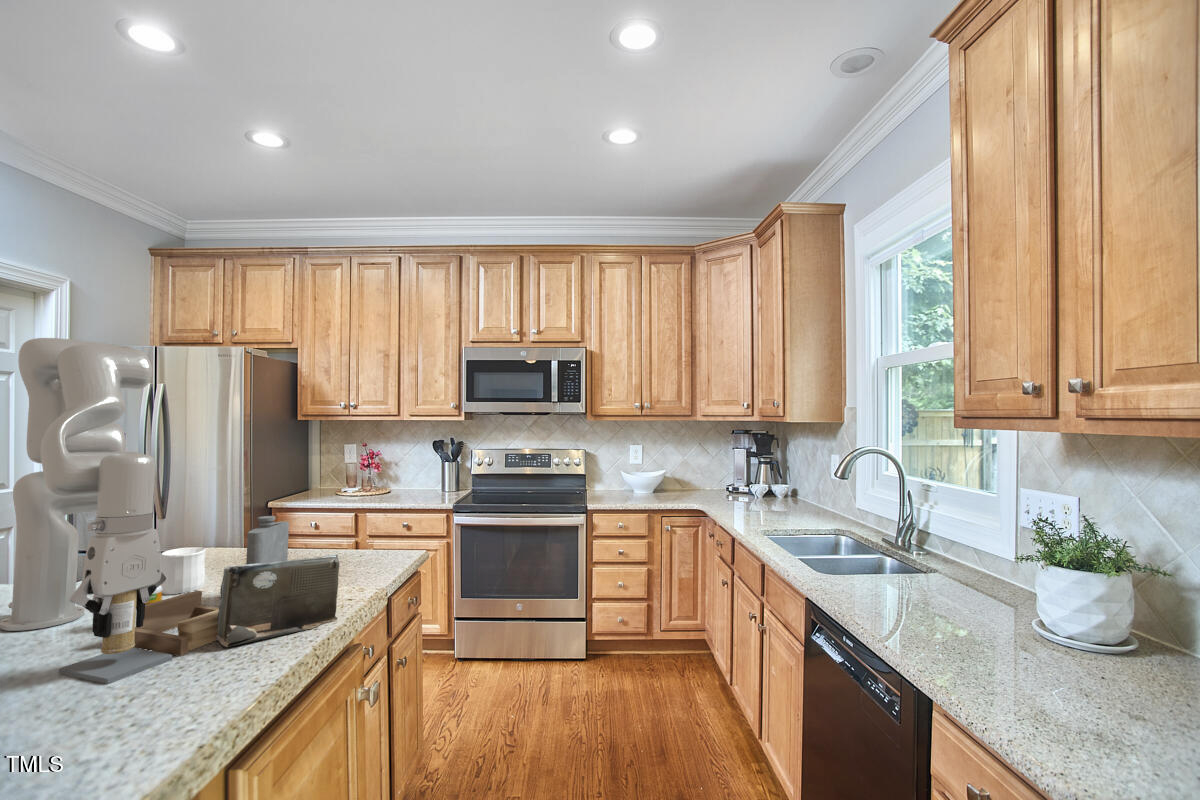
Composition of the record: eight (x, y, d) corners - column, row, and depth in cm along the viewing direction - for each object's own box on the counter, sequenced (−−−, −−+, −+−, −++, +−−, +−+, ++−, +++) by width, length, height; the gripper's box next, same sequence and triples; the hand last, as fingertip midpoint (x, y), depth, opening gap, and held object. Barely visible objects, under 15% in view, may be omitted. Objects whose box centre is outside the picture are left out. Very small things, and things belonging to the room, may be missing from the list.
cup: (196, 582, 147) (198, 545, 148) (212, 588, 141) (213, 550, 142) (152, 590, 139) (154, 551, 140) (166, 597, 134) (168, 557, 134)
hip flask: (256, 611, 125) (260, 521, 126) (237, 611, 124) (241, 522, 125) (288, 590, 140) (291, 511, 141) (271, 591, 140) (274, 511, 141)
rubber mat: (58, 673, 93) (58, 668, 93) (125, 650, 102) (125, 646, 102) (107, 684, 89) (107, 678, 89) (171, 659, 99) (172, 654, 99)
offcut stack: (172, 648, 103) (173, 624, 104) (227, 628, 114) (228, 606, 114) (187, 651, 102) (188, 626, 102) (242, 630, 113) (243, 608, 113)
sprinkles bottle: (138, 643, 99) (142, 566, 99) (130, 652, 95) (134, 573, 95) (105, 647, 97) (110, 569, 97) (95, 657, 93) (100, 575, 93)
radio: (336, 612, 125) (338, 545, 126) (350, 622, 119) (353, 551, 119) (212, 638, 109) (215, 562, 109) (221, 651, 102) (225, 570, 103)
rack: (116, 644, 105) (118, 612, 105) (195, 618, 119) (196, 590, 120) (180, 656, 100) (182, 622, 100) (254, 628, 114) (256, 598, 115)
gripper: (81, 535, 88) (74, 652, 87) (188, 518, 104) (183, 618, 103) (50, 531, 90) (43, 646, 89) (160, 516, 106) (155, 613, 105)
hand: (118, 630), depth 96 cm, fingers closed on sprinkles bottle, 4 cm apart
